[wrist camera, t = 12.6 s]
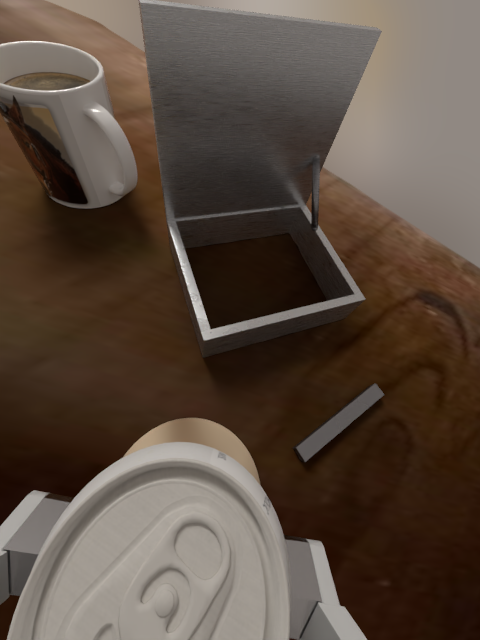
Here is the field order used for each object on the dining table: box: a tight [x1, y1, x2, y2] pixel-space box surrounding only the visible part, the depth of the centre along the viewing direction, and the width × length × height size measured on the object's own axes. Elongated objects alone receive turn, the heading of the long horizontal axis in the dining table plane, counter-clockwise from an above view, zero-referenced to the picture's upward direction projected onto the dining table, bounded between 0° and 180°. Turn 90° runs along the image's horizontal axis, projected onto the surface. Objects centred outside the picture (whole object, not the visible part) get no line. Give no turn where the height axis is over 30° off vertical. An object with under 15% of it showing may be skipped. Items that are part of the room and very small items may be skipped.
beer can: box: [7, 442, 291, 640], centre depth 12 cm, size 6×6×15 cm
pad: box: [124, 418, 260, 485], centre depth 18 cm, size 11×11×1 cm
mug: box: [0, 41, 137, 209], centre depth 27 cm, size 10×12×11 cm
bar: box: [293, 384, 384, 462], centre depth 23 cm, size 10×1×1 cm, turn 123°
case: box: [139, 0, 382, 358], centre depth 21 cm, size 16×14×18 cm
